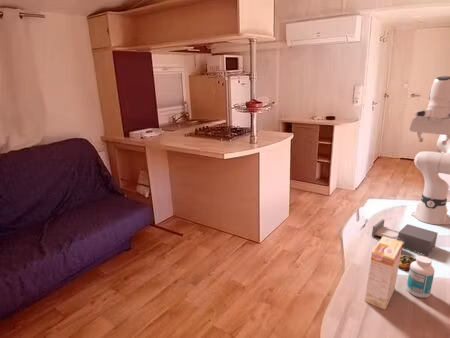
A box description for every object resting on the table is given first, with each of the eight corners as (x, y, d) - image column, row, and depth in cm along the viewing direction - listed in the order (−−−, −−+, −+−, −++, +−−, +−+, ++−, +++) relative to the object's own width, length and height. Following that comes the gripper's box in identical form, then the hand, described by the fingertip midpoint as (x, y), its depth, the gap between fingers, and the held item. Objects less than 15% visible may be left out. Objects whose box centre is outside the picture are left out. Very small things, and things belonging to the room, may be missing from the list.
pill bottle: (422, 286, 117) (429, 254, 114) (433, 299, 110) (441, 265, 107) (402, 285, 118) (408, 253, 114) (411, 297, 111) (418, 264, 107)
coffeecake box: (374, 281, 120) (382, 235, 115) (395, 289, 115) (404, 241, 110) (363, 301, 108) (371, 251, 103) (385, 310, 104) (394, 258, 99)
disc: (392, 238, 147) (392, 235, 147) (406, 242, 143) (406, 239, 143) (387, 242, 143) (388, 239, 143) (402, 247, 139) (402, 243, 139)
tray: (380, 228, 165) (382, 219, 163) (408, 237, 156) (410, 227, 154) (371, 236, 156) (372, 226, 154) (399, 245, 147) (401, 235, 145)
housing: (404, 236, 157) (407, 224, 155) (434, 246, 148) (437, 232, 146) (396, 245, 148) (398, 232, 146) (427, 256, 139) (430, 241, 137)
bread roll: (426, 275, 124) (426, 264, 123) (395, 273, 128) (395, 262, 127) (419, 262, 134) (419, 251, 134) (390, 260, 138) (390, 250, 137)
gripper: (467, 114, 136) (460, 145, 140) (415, 111, 150) (410, 139, 154) (464, 115, 132) (457, 147, 136) (411, 112, 146) (406, 141, 150)
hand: (432, 143), depth 145 cm, fingers open, 8 cm apart
